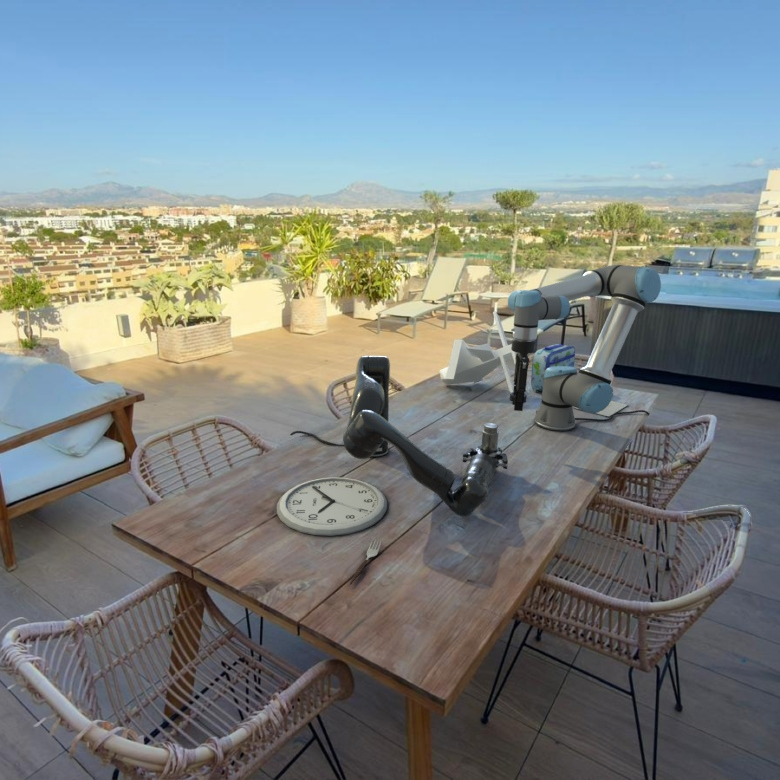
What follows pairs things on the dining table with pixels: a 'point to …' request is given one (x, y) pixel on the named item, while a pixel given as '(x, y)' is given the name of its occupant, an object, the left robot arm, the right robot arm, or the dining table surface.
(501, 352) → the white plastic object
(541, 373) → the lunch box
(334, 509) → the wall clock
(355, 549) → the dining table surface
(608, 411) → the invitation card
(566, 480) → the dining table surface
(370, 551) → the fork
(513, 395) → the lid
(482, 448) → the jar
